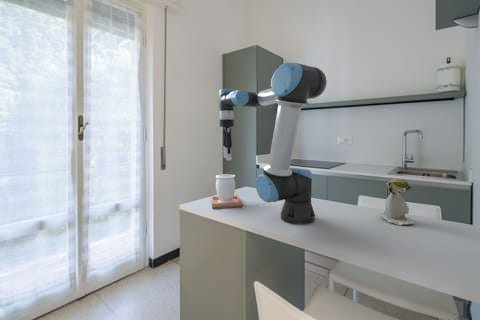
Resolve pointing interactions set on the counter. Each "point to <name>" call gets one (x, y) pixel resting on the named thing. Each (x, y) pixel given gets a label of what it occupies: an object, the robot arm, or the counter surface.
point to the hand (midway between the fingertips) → (227, 158)
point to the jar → (225, 187)
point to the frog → (397, 203)
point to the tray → (236, 203)
